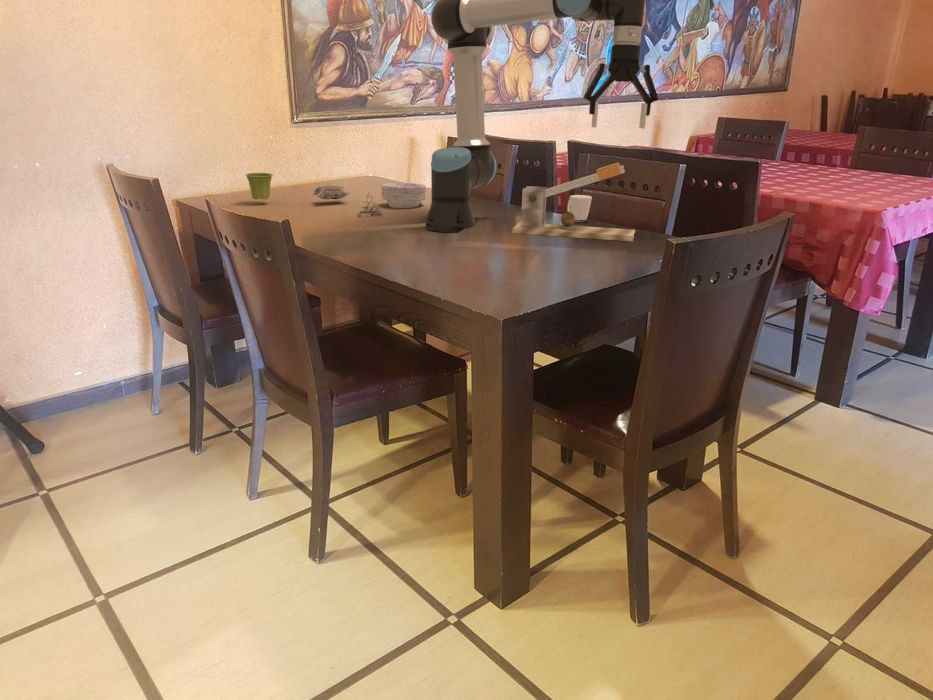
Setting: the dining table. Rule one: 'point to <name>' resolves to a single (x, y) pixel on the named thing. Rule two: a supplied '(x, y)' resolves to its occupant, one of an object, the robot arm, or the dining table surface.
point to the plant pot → (259, 185)
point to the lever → (587, 179)
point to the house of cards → (370, 213)
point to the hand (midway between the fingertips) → (617, 127)
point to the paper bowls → (403, 194)
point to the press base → (579, 232)
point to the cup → (579, 206)
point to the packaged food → (330, 192)
